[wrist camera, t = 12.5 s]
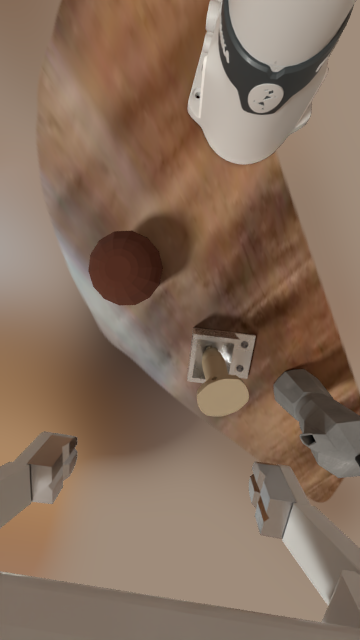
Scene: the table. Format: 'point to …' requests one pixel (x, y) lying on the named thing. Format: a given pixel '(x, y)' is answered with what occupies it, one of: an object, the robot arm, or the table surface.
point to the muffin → (125, 268)
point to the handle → (219, 386)
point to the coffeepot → (321, 422)
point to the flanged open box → (228, 344)
